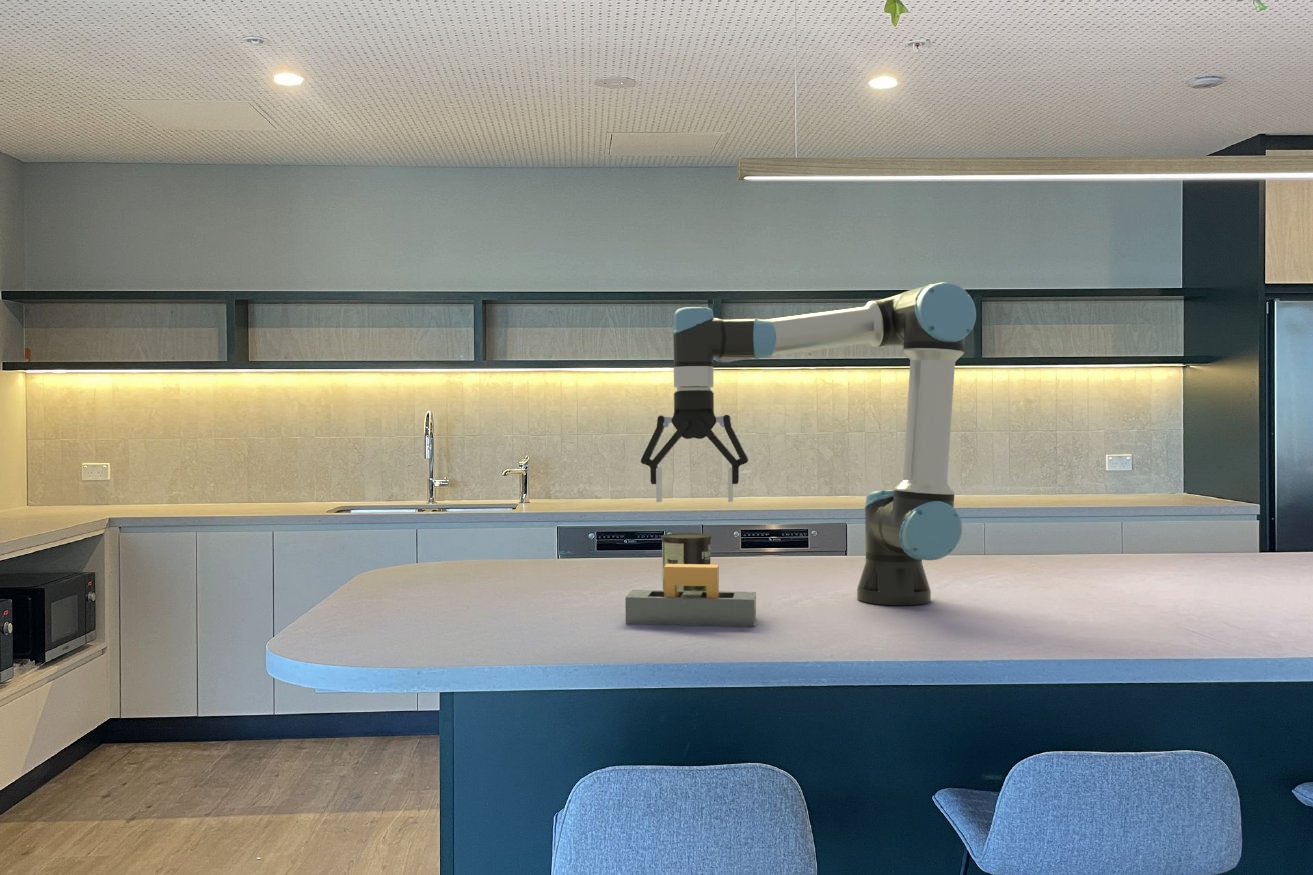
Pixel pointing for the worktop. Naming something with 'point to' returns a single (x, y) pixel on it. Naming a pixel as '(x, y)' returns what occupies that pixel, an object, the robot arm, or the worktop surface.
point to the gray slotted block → (691, 608)
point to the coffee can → (686, 552)
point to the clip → (691, 578)
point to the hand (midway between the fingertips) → (694, 501)
